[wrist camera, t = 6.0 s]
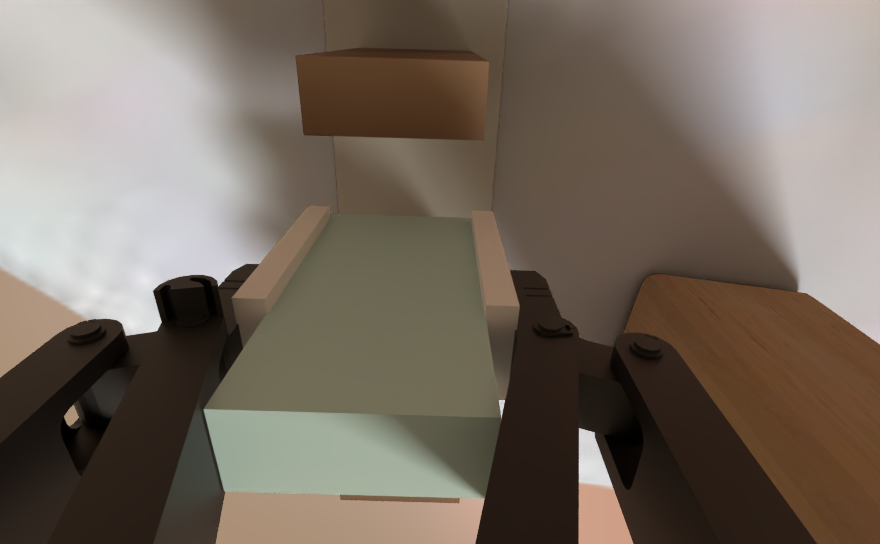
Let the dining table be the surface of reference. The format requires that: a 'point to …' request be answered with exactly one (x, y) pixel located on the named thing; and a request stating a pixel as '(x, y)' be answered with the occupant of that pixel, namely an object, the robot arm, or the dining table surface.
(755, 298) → the block
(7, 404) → the robot arm
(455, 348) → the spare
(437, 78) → the domino
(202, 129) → the dining table surface
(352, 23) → the runner
